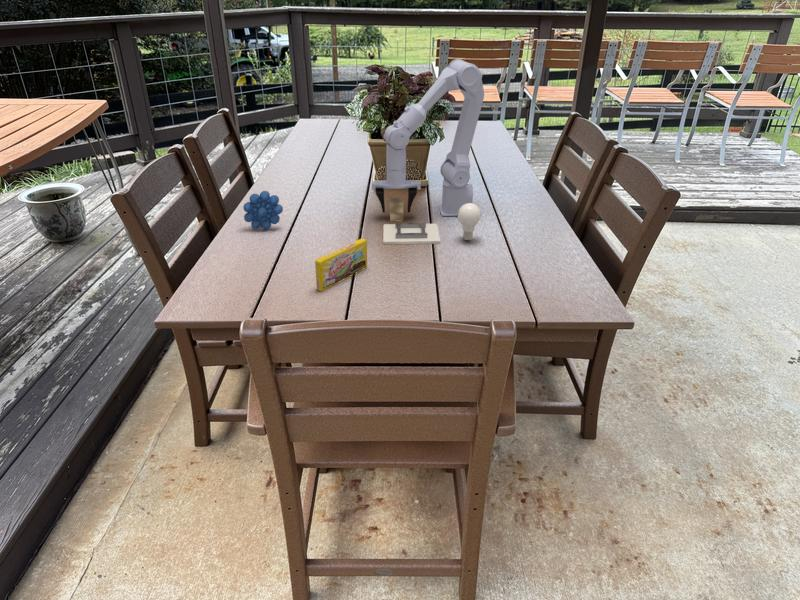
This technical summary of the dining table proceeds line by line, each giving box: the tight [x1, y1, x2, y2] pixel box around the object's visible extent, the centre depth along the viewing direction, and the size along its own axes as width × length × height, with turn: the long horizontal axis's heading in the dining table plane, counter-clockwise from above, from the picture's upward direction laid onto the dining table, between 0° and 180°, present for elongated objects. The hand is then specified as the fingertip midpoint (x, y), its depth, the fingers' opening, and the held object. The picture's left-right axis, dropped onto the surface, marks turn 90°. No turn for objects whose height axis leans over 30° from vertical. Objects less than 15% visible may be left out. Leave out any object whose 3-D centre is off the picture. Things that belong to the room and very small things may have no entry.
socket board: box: [382, 222, 441, 245], centre depth 158 cm, size 16×12×2 cm
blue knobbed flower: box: [243, 190, 284, 231], centre depth 160 cm, size 12×7×12 cm, turn 91°
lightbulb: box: [457, 202, 482, 242], centre depth 152 cm, size 6×6×11 cm
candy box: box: [314, 237, 368, 292], centre depth 135 cm, size 16×2×8 cm, turn 139°
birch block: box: [389, 197, 404, 222], centre depth 167 cm, size 4×4×6 cm
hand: (396, 211), depth 167 cm, fingers open, 7 cm apart
